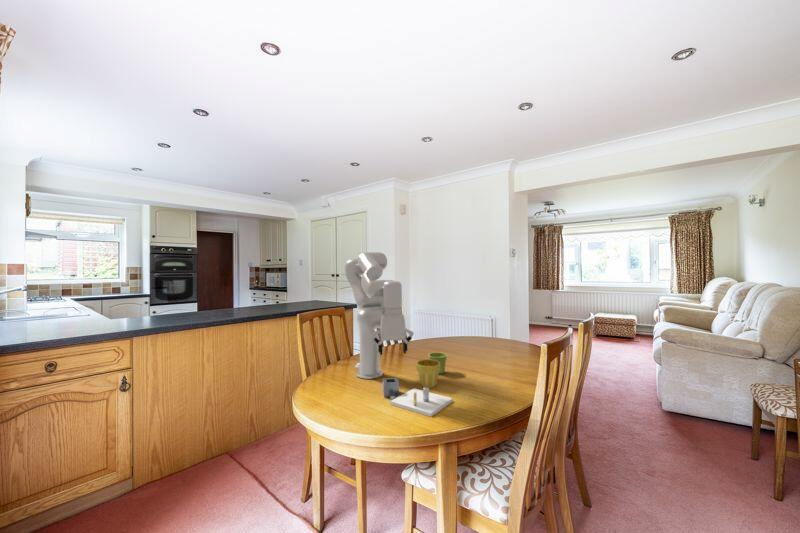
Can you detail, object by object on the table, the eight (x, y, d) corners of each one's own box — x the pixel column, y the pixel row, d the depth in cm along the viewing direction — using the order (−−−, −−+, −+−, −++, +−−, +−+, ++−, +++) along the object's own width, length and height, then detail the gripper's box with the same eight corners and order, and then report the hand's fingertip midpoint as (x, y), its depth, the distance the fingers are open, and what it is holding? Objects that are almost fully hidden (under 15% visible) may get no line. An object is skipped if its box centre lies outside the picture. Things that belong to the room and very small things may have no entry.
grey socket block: (382, 391, 139) (382, 378, 139) (396, 390, 140) (396, 377, 140) (385, 401, 129) (385, 387, 129) (400, 400, 130) (400, 386, 130)
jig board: (390, 404, 126) (390, 401, 126) (413, 391, 139) (413, 388, 139) (430, 416, 115) (430, 413, 115) (452, 401, 128) (452, 398, 128)
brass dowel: (413, 405, 122) (413, 393, 122) (414, 404, 123) (414, 392, 123) (415, 406, 121) (415, 393, 121) (417, 405, 122) (417, 393, 122)
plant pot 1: (426, 374, 160) (426, 356, 160) (430, 368, 169) (430, 351, 169) (446, 376, 157) (445, 358, 157) (449, 370, 166) (448, 352, 166)
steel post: (422, 401, 126) (421, 388, 126) (425, 399, 128) (425, 386, 128) (427, 402, 124) (426, 389, 124) (430, 400, 126) (429, 387, 126)
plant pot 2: (439, 389, 140) (439, 366, 140) (415, 388, 142) (414, 365, 142) (441, 381, 150) (441, 359, 150) (418, 380, 153) (418, 358, 153)
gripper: (372, 313, 131) (372, 357, 131) (415, 312, 134) (415, 354, 134) (370, 311, 138) (371, 352, 138) (411, 309, 141) (411, 350, 141)
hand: (392, 353), depth 136 cm, fingers open, 9 cm apart
